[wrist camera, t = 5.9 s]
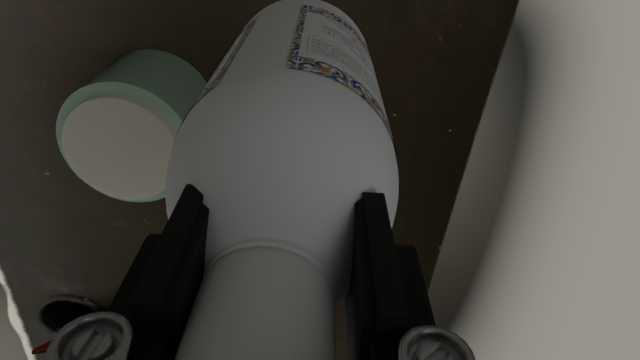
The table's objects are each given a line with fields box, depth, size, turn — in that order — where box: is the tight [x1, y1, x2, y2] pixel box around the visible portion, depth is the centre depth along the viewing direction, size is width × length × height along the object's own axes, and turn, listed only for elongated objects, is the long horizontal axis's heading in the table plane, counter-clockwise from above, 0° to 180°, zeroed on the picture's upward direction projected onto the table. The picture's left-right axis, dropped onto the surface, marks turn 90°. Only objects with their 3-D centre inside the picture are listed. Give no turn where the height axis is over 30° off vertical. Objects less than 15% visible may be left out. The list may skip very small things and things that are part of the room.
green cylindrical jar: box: [56, 49, 207, 202], centre depth 41 cm, size 11×11×10 cm
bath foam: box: [165, 0, 399, 360], centre depth 16 cm, size 7×7×20 cm
